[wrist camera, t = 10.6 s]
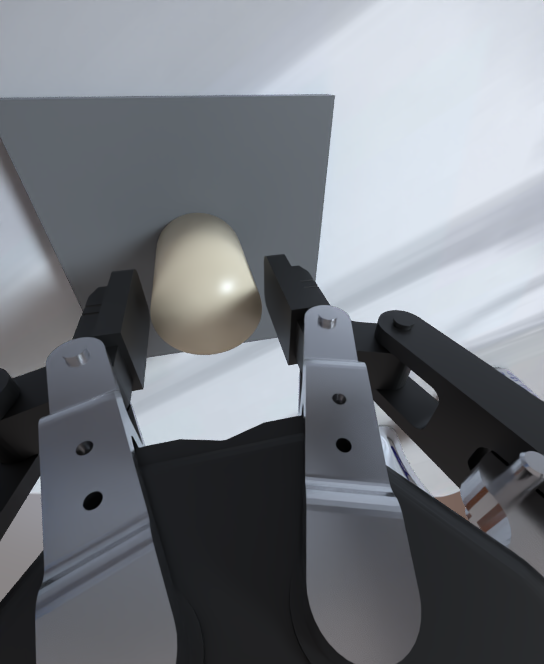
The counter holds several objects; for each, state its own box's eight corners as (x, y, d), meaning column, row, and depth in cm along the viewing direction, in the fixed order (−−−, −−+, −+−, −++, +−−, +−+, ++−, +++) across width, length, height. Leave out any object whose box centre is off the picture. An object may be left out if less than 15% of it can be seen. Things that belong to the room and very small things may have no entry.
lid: (2, 96, 10) (-128, 117, 6) (321, 93, 12) (403, 107, 8) (111, 345, 17) (90, 440, 13) (302, 318, 19) (340, 391, 15)
